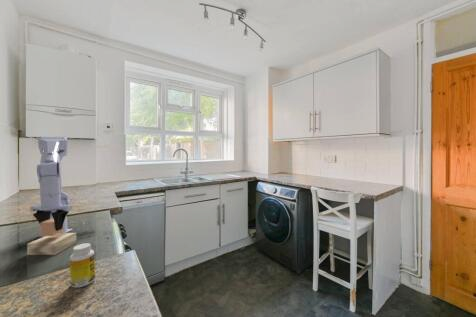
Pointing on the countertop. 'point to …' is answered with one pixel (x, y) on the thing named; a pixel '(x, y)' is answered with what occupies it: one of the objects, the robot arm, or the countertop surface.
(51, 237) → the base
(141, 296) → the countertop surface
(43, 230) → the block
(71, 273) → the supplement bottle
